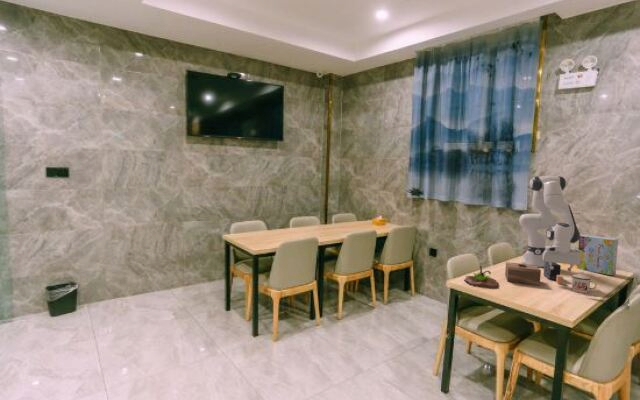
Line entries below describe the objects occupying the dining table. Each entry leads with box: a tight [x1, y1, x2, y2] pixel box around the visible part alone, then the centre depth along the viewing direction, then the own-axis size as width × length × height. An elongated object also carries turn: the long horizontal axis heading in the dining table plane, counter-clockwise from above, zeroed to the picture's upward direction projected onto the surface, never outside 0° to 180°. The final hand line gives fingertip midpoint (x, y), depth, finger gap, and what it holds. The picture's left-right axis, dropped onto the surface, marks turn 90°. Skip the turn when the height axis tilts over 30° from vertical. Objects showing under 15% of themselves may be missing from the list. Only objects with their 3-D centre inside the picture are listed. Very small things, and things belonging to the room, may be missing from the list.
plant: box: [464, 265, 500, 289], centre depth 225 cm, size 20×20×11 cm
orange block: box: [555, 274, 564, 285], centre depth 228 cm, size 5×2×5 cm, turn 158°
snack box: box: [576, 234, 619, 276], centre depth 260 cm, size 22×9×26 cm, turn 34°
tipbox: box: [504, 261, 542, 287], centre depth 232 cm, size 14×18×10 cm
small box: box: [543, 262, 562, 281], centre depth 240 cm, size 11×6×10 cm, turn 168°
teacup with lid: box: [571, 271, 598, 294], centre depth 212 cm, size 12×9×12 cm
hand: (560, 270), depth 228 cm, fingers open, 8 cm apart
